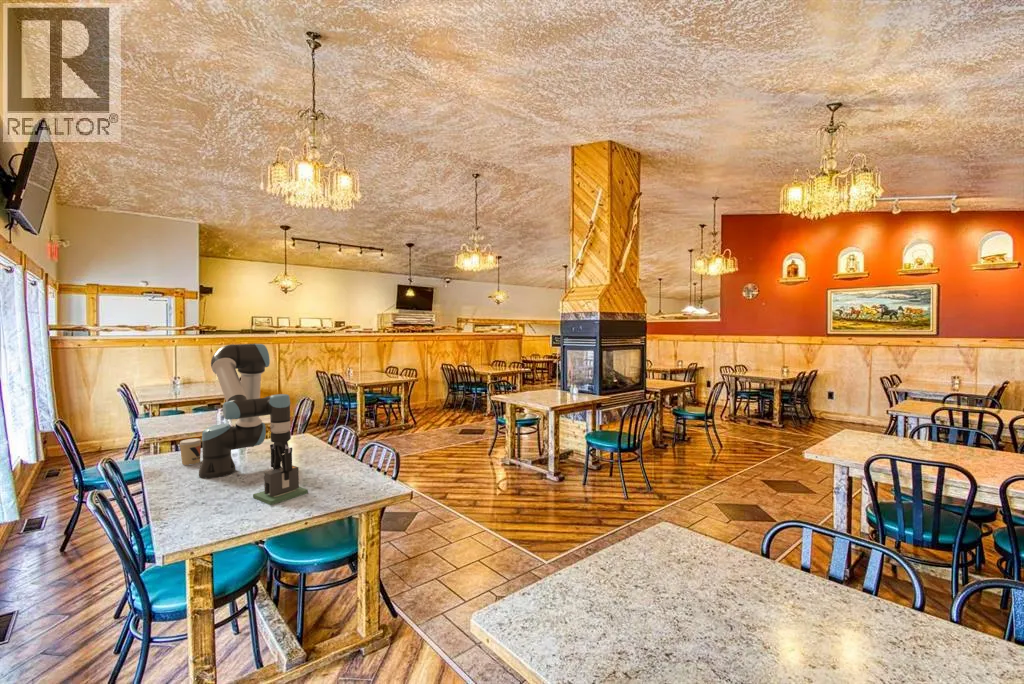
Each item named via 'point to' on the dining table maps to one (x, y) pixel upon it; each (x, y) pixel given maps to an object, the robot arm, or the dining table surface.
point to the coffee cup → (190, 451)
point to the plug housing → (280, 481)
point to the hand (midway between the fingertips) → (281, 485)
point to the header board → (279, 496)
